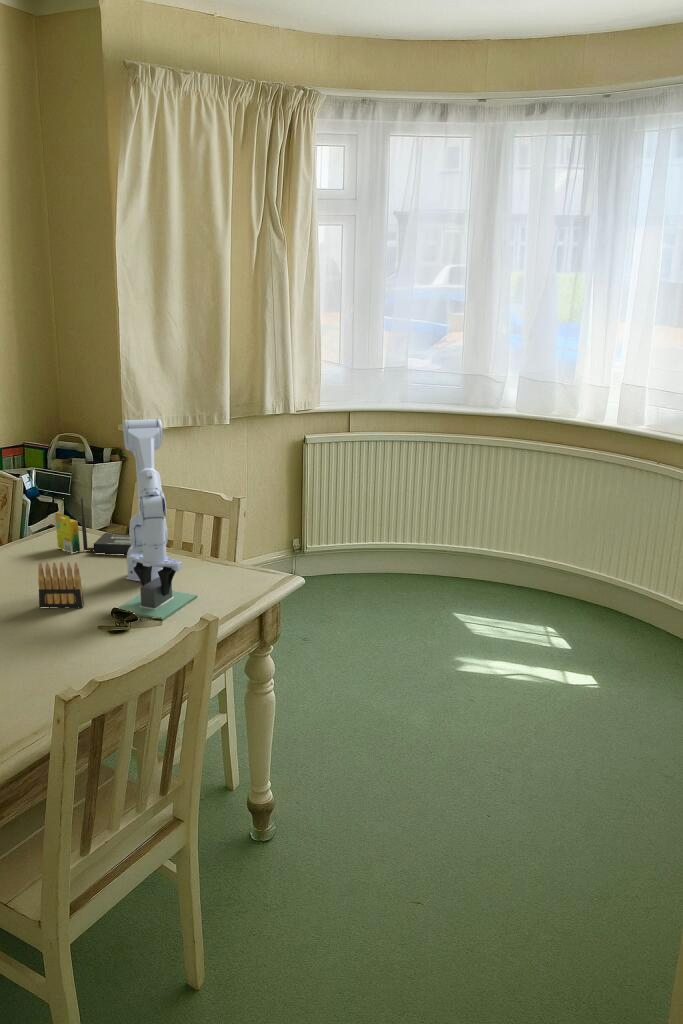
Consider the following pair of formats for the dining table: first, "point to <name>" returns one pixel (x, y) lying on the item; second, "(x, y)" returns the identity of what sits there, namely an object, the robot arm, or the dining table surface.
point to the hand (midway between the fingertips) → (156, 592)
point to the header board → (162, 610)
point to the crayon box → (67, 533)
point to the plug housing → (154, 594)
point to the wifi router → (106, 541)
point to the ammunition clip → (60, 587)
